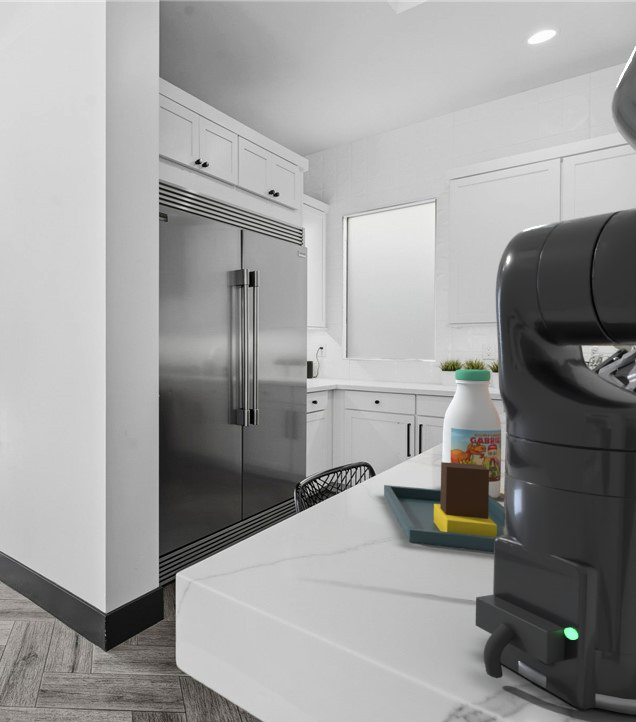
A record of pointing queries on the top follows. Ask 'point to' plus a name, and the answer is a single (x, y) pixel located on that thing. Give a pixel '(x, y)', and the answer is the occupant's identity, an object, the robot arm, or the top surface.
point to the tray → (419, 523)
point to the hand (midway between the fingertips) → (579, 419)
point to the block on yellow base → (464, 500)
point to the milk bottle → (473, 427)
